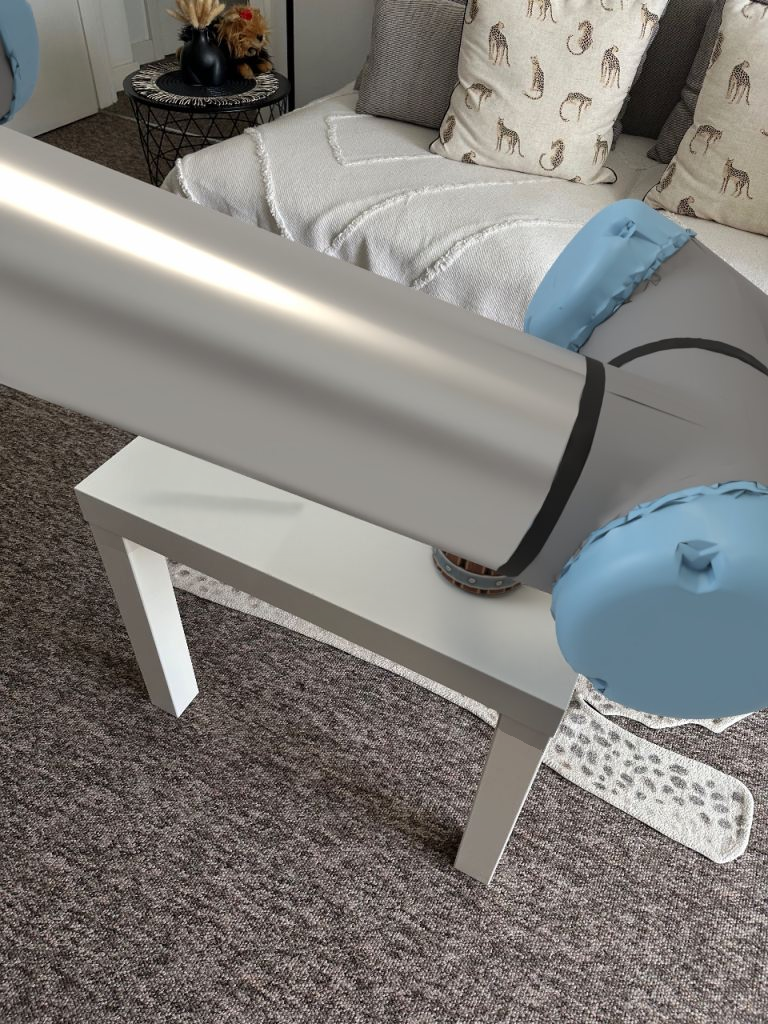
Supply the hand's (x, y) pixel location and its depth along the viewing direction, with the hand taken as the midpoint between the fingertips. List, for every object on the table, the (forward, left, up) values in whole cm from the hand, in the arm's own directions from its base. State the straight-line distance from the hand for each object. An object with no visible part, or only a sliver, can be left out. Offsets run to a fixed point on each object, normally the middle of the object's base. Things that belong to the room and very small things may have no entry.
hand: (532, 491), depth 64 cm
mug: (-2, +5, -13) cm, 14 cm away
